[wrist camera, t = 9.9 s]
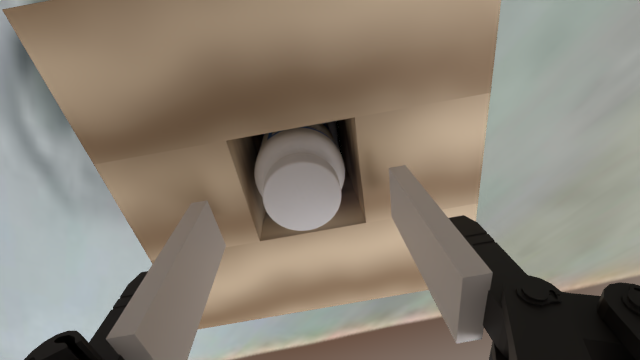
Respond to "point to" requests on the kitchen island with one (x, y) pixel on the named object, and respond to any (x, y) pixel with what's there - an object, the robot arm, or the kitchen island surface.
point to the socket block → (273, 125)
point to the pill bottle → (300, 176)
